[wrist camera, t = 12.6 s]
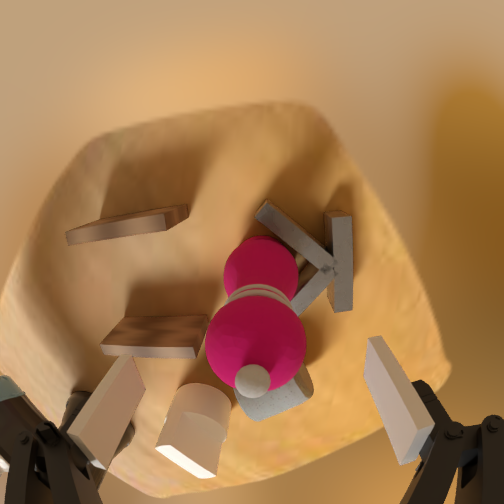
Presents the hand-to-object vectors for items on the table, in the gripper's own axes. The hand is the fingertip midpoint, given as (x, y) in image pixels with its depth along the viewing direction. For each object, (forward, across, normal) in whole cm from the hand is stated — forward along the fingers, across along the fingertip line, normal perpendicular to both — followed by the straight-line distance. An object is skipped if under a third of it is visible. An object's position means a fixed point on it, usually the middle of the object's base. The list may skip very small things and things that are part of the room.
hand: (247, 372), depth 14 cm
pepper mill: (+18, +1, 0) cm, 18 cm away
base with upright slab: (+19, -11, -22) cm, 31 cm away
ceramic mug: (+18, 0, -13) cm, 23 cm away
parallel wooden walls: (+18, -13, 0) cm, 22 cm away
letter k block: (+18, +5, 0) cm, 19 cm away
